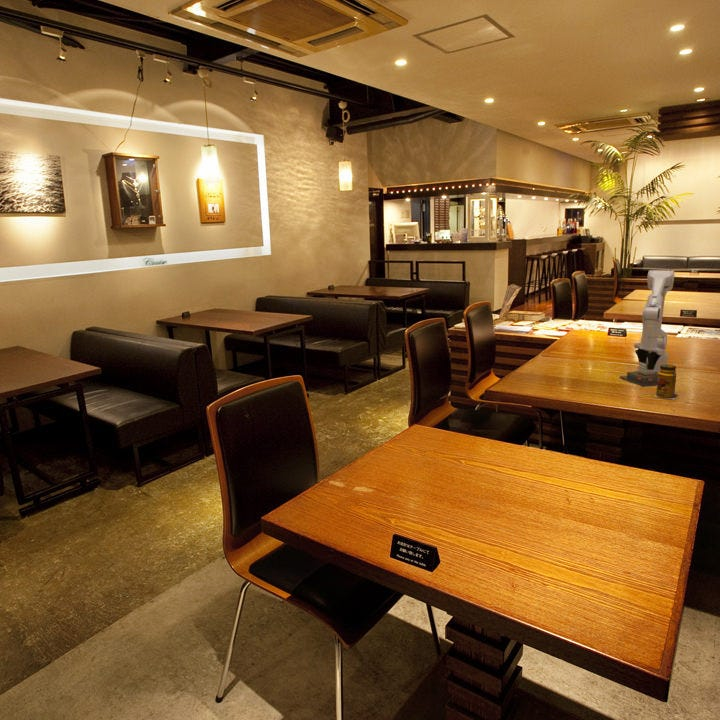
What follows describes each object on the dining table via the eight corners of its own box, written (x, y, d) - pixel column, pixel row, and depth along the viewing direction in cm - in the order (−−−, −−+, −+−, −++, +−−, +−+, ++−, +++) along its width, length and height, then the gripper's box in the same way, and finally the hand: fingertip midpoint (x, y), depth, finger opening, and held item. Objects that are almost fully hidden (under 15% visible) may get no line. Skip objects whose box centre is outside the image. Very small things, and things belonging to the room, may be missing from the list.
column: (646, 375, 230) (647, 361, 229) (653, 378, 226) (655, 363, 225) (637, 376, 229) (638, 361, 228) (645, 379, 225) (646, 364, 224)
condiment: (652, 397, 208) (655, 366, 205) (658, 391, 214) (661, 361, 211) (674, 400, 203) (677, 369, 200) (679, 394, 210) (682, 364, 207)
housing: (647, 375, 236) (648, 368, 236) (672, 383, 223) (673, 376, 222) (619, 378, 233) (619, 371, 233) (643, 387, 220) (643, 379, 219)
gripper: (628, 333, 230) (626, 364, 233) (654, 340, 216) (651, 373, 219) (643, 332, 231) (640, 363, 234) (669, 338, 218) (666, 371, 221)
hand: (646, 368), depth 227 cm, fingers closed on column, 4 cm apart
